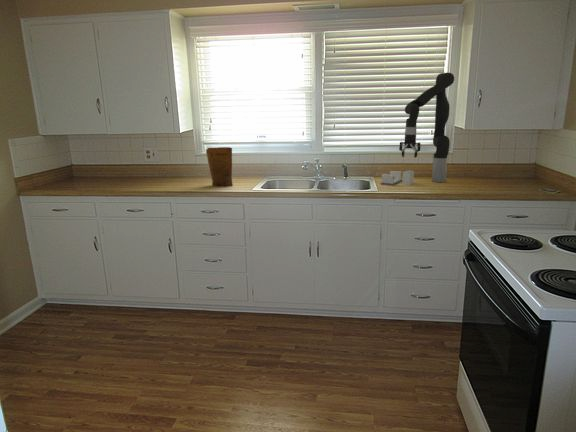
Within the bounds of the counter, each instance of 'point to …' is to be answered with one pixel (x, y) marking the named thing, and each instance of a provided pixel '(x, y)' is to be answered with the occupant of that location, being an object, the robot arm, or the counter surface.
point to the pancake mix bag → (220, 165)
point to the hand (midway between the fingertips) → (409, 157)
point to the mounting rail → (392, 178)
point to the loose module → (408, 177)
